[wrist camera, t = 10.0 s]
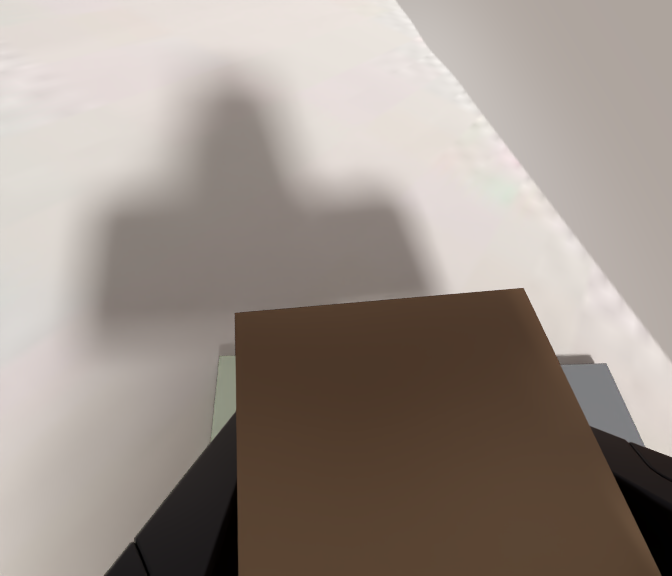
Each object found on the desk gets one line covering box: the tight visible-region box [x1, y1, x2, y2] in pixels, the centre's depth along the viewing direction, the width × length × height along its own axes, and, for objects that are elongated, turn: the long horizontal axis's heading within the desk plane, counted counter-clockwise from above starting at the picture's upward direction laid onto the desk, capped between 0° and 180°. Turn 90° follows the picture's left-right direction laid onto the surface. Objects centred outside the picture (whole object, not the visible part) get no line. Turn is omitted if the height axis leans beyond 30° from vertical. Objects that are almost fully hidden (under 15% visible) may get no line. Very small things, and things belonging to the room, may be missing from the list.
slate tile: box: [561, 363, 645, 447], centre depth 16 cm, size 8×8×1 cm
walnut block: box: [235, 288, 662, 576], centre depth 8 cm, size 5×5×10 cm
